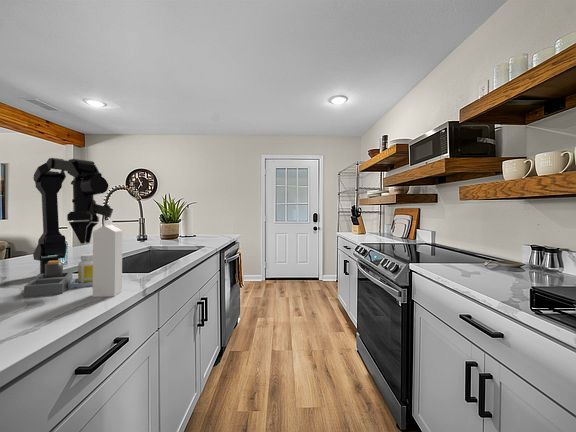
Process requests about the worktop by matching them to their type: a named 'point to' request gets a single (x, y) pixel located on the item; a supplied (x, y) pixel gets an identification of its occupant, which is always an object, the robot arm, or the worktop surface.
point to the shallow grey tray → (49, 281)
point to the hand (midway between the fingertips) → (85, 243)
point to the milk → (107, 260)
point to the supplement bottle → (85, 269)
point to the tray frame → (78, 284)
